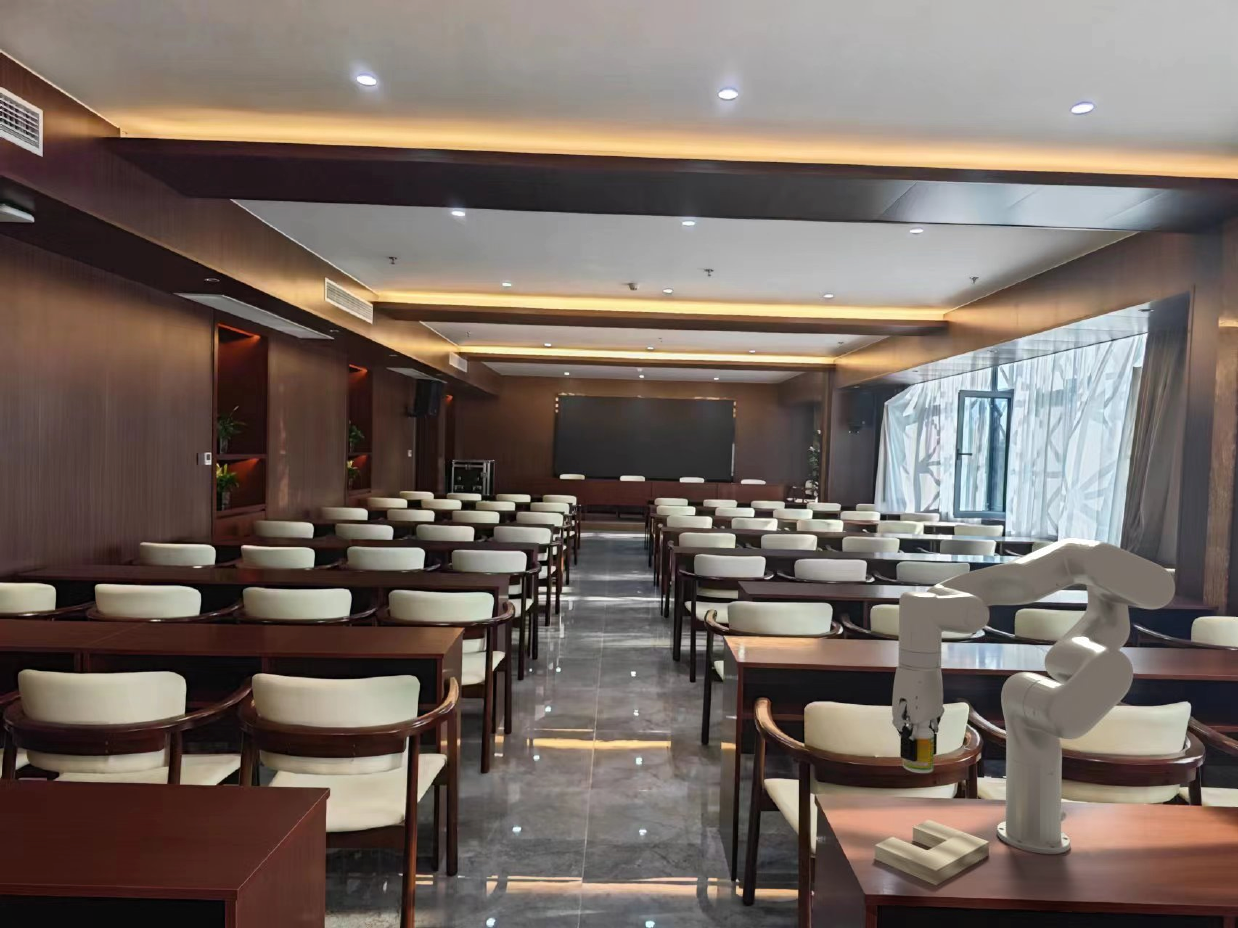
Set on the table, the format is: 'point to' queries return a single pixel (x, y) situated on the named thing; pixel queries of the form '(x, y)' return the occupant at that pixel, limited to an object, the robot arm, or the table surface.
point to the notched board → (933, 852)
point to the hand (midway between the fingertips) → (918, 755)
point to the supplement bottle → (922, 749)
